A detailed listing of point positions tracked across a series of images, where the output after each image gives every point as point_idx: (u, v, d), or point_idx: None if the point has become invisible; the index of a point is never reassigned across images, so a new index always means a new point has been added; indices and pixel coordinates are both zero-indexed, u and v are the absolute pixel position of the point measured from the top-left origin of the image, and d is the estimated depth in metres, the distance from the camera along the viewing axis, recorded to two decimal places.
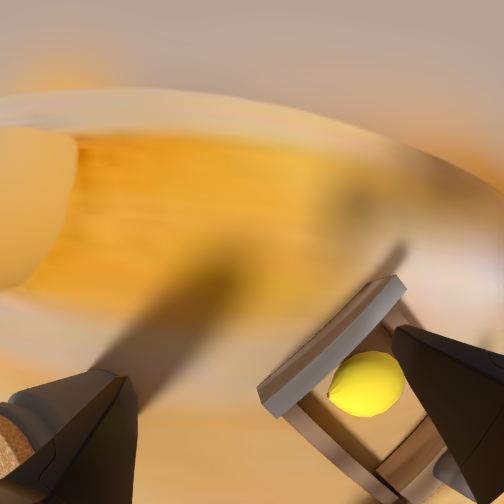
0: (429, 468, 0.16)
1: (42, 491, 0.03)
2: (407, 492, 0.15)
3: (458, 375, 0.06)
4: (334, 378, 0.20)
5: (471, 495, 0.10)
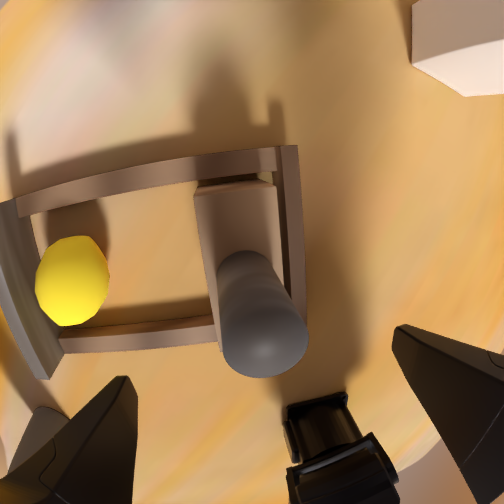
0: None
1: (42, 491, 0.03)
2: None
3: (458, 375, 0.06)
4: None
5: (249, 372, 0.10)
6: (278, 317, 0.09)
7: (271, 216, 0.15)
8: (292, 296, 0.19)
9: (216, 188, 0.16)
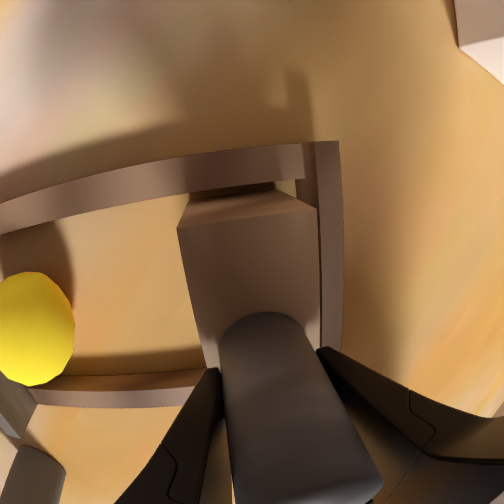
0: None
1: None
2: None
3: (366, 416, 0.06)
4: None
5: None
6: (342, 486, 0.04)
7: (307, 258, 0.09)
8: None
9: (215, 207, 0.10)
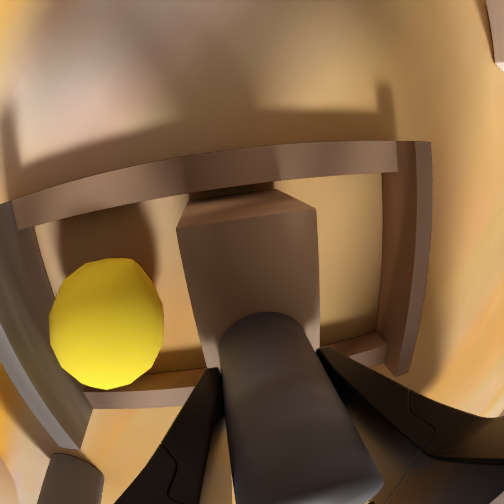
0: None
1: None
2: None
3: (366, 415, 0.06)
4: None
5: None
6: (342, 486, 0.04)
7: (307, 258, 0.09)
8: (406, 328, 0.14)
9: (215, 208, 0.10)
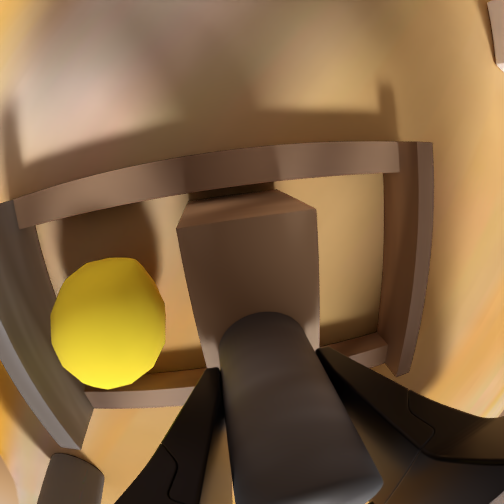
0: None
1: None
2: None
3: (366, 416, 0.06)
4: None
5: None
6: (342, 486, 0.04)
7: (307, 258, 0.09)
8: (407, 328, 0.14)
9: (215, 208, 0.10)
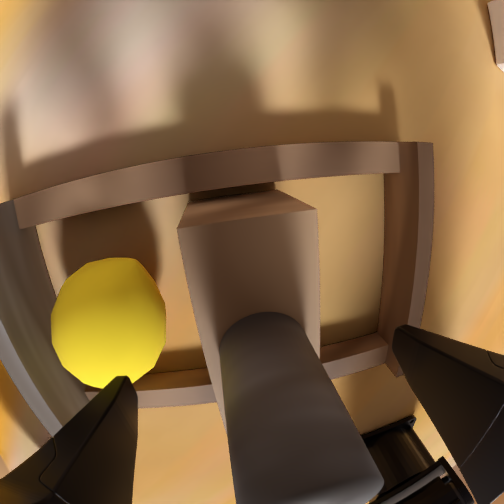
0: None
1: (42, 491, 0.03)
2: None
3: (458, 375, 0.06)
4: None
5: None
6: (343, 486, 0.04)
7: (307, 258, 0.09)
8: None
9: (216, 208, 0.10)
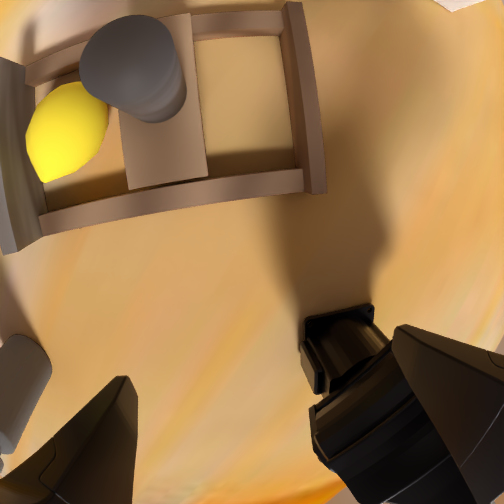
0: (129, 125, 0.12)
1: (42, 490, 0.03)
2: (140, 177, 0.13)
3: (458, 375, 0.06)
4: None
5: (107, 102, 0.07)
6: (138, 23, 0.06)
7: (184, 35, 0.11)
8: (307, 135, 0.16)
9: None
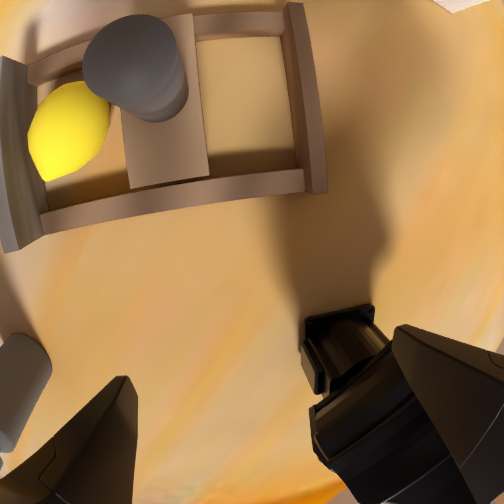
0: (131, 124, 0.13)
1: (42, 491, 0.03)
2: (142, 176, 0.13)
3: (458, 375, 0.06)
4: None
5: (109, 100, 0.07)
6: (141, 23, 0.06)
7: (186, 35, 0.11)
8: (308, 135, 0.16)
9: None
